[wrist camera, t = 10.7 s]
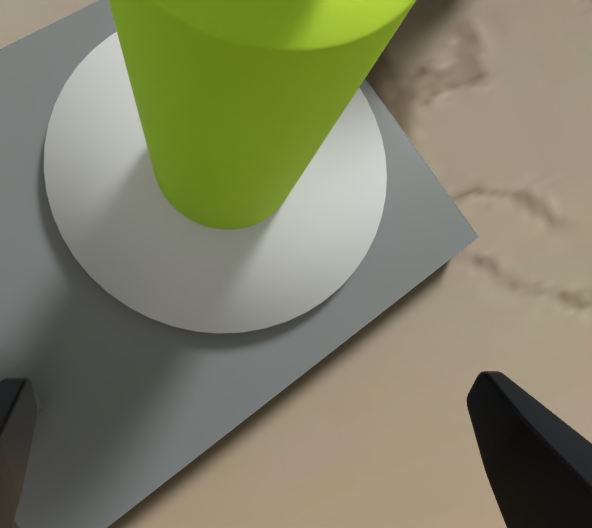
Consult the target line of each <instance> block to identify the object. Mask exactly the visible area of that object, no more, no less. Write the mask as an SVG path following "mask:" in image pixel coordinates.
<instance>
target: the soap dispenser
mask: <svg viewBox="0 0 592 528" xmlns="http://www.w3.org/2000/svg"><path fill="white" fill-rule="evenodd" d="M415 2H416V0H109V4H110V8H111V12H112V15H113V19H114V23H115V27H116V31H117V34H118V38H119V42H120V46H121V50H122V53H123V57H124V61H125V65H126V68H127V72H128V76H129V80H130V84H131V87H132V91H133V95H134V99H135V103H136V106H137V110H138V114H139V118H140V122H141V125H142V129H143V133H144V137H145V140H146V144H147V148H148V152H149V156H150V159H151V163H152V167H153V171H154V175H155V178H156V181H157V183H158V186H159V188H160V190H161V191H162V193H163V195H164V196H165V198H166V199H167V200H168V202H169V203H170V204H171V205H172V206H173V207H174V208H175V209H176V210H177V211H178V212H179V213H181V214H182V215H183V216H185V217H186V218H188V219H190V220H192V221H193V222H196V223H198V224H200V225H203V226H206V227H210V228H215V229H223V230H233V229H241V228H246V227H249V226H252V225H255V224H257V223H259V222H261V221H263V220H265V219H266V218H268V217H269V216H271V215H272V214H273V213H274V212H275V211H277V210H278V209H279V207H280V206H281V205H282V204H283V203H284V201H285V200H286V198H287V197H288V195H289V194H290V192H291V191H292V189H293V188H294V186H295V185H296V183H297V182H298V180H299V179H300V177H301V175H302V174H303V172H304V171H305V169H306V168H307V166H308V165H309V163H310V162H311V160H312V159H313V157H314V156H315V154H316V153H317V151H318V150H319V148H320V146H321V145H322V143H323V142H324V140H325V139H326V137H327V136H328V134H329V133H330V131H331V130H332V128H333V127H334V125H335V124H336V122H337V121H338V119H339V118H340V116H341V114H342V113H343V111H344V110H345V108H346V107H347V105H348V104H349V102H350V101H351V99H352V98H353V96H354V95H355V93H356V92H357V90H358V89H359V87H360V85H361V84H362V82H363V81H364V79H365V78H366V76H367V75H368V73H369V72H370V70H371V69H372V67H373V66H374V64H375V63H376V61H377V60H378V58H379V57H380V55H381V53H382V52H383V50H384V49H385V47H386V46H387V44H388V43H389V41H390V40H391V38H392V37H393V35H394V34H395V32H396V31H397V29H398V28H399V26H400V24H401V23H402V21H403V20H404V18H405V17H406V15H407V14H408V12H409V11H410V9H411V8H412V6H413V5H414V3H415Z"/></svg>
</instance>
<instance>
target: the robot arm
mask: <svg viewBox="0 0 592 528" xmlns="http://www.w3.org/2000/svg"><path fill="white" fill-rule="evenodd" d="M467 407H468V411H469V414H470V418H471V422H472V425H473V429H474V432H475V436H476V440H477V443H478V447H479V451H480V454H481V458H482V461H483V465H484V468H485V471H486V474H487V477H488V480H489V482H490V485H491V488H492V490H493V493H494V495H495V498H496V500H497V503H498V506H499V508H500V511H501V513H502V516H503V518H504V521H505V524H506V526H507V528H592V444H591V443H590V442H589V441H588V440H586V439H585V438H584V437H583V436H581V435H580V434H579V433H578V432H576V431H575V430H574V429H572V428H571V427H570V426H569V425H567V424H566V423H565V422H564V421H562V420H561V419H560V418H559V417H557V416H556V415H555V414H553V413H552V412H551V411H550V410H548V409H547V408H546V407H545V406H543V405H542V404H541V403H540V402H538V401H537V400H536V399H534V398H533V397H532V396H531V395H529V394H528V393H527V392H526V391H524V390H523V389H522V388H521V387H519V386H518V385H517V384H515V383H514V382H513V381H512V380H510V379H509V378H508V377H507V376H505V375H504V374H503V373H501V372H498V371H483V372H481V373H480V374H479V375H478V376H477V378H476V380H475V382H474V384H473V386H472V388H471V390H470V392H469V393H468V396H467ZM36 419H37V403H36V399H35V395H34V391H33V387H32V383H31V381H30V379H29V378H26V377H8V378H4V379H3V380H1V381H0V528H11V527H12V524H13V521H14V518H15V515H16V512H17V508H18V505H19V501H20V497H21V493H22V488H23V484H24V479H25V474H26V469H27V464H28V459H29V454H30V449H31V444H32V439H33V434H34V429H35V424H36Z"/></svg>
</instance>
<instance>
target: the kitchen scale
mask: <svg viewBox="0 0 592 528" xmlns="http://www.w3.org/2000/svg"><path fill="white" fill-rule="evenodd" d="M477 238H478V235H477V234H476V232H475V231H474V230H473V228H472V227H471V225H470V224H469V223H468V221H467V220H466V218H465V217H464V216H463V214H462V213H461V211H460V210H459V209H458V207H457V206H456V204H455V203H454V202H453V200H452V199H451V197H450V196H449V195H448V193H447V192H446V190H445V189H444V188H443V186H442V185H441V183H440V182H439V181H438V179H437V178H436V176H435V175H434V174H433V172H432V171H431V169H430V168H429V167H428V165H427V164H426V162H425V161H424V160H423V158H422V157H421V155H420V154H419V153H418V151H417V150H416V148H415V147H414V146H413V144H412V143H411V141H410V140H409V139H408V137H407V136H406V134H405V133H404V132H403V130H402V129H401V127H400V126H399V125H398V123H397V122H396V120H395V119H394V118H393V116H392V115H391V113H390V112H389V111H388V109H387V108H386V106H385V105H384V104H383V102H382V101H381V99H380V98H379V97H378V95H377V94H376V92H375V91H374V90H373V88H372V87H371V85H370V84H369V83H368V81H367V80H366V78H365V79H364V81H363V82H362V84H361V85H360V87H359V89H358V90H357V92H356V93H355V95H354V96H353V98H352V99H351V101H350V102H349V104H348V105H347V107H346V108H345V110H344V111H343V113H342V114H341V116H340V118H339V119H338V121H337V122H336V124H335V125H334V127H333V128H332V130H331V131H330V133H329V134H328V136H327V137H326V139H325V140H324V142H323V143H322V145H321V146H320V148H319V150H318V151H317V153H316V154H315V156H314V157H313V159H312V160H311V162H310V163H309V165H308V166H307V168H306V169H305V171H304V172H303V174H302V175H301V177H300V179H299V180H298V182H297V183H296V185H295V186H294V188H293V189H292V191H291V192H290V194H289V195H288V197H287V198H286V200H285V201H284V203H283V204H282V205H281V206H280V207H279V209H278V210H277V211H275V212H274V213H273V214H272V215H271V216H269V217H268V218H266V219H265V220H263V221H261V222H259V223H257V224H255V225H252V226H249V227H246V228H241V229H233V230H223V229H215V228H210V227H206V226H203V225H200V224H198V223H196V222H193V221H192V220H190V219H188V218H186V217H185V216H183V215H182V214H181V213H179V212H178V211H177V210H176V209H175V208H174V207H173V206H172V205H171V204H170V203H169V202H168V200H167V199H166V198H165V196H164V195H163V193H162V191H161V190H160V188H159V186H158V183H157V181H156V178H155V175H154V171H153V167H152V163H151V159H150V156H149V152H148V148H147V144H146V140H145V137H144V133H143V129H142V125H141V122H140V118H139V114H138V110H137V106H136V103H135V99H134V95H133V91H132V87H131V84H130V80H129V76H128V72H127V68H126V65H125V61H124V57H123V53H122V50H121V46H120V42H119V38H118V34H117V31H116V27H115V23H114V19H113V15H112V12H111V8H110V4H109V0H99V1H97V2H95V3H93V4H91V5H89V6H87V7H85V8H83V9H81V10H79V11H77V12H75V13H73V14H71V15H69V16H67V17H65V18H63V19H61V20H59V21H57V22H55V23H53V24H51V25H49V26H47V27H45V28H42V29H40V30H38V31H36V32H34V33H32V34H30V35H28V36H26V37H24V38H22V39H20V40H18V41H16V42H14V43H12V44H10V45H8V46H6V47H4V48H2V49H0V381H1V380H3V379H4V378H8V377H26V378H29V379H30V381H31V383H32V387H33V391H34V395H35V399H36V403H37V419H36V424H35V429H34V434H33V439H32V444H31V449H30V454H29V459H28V464H27V469H26V474H25V479H24V484H23V488H22V493H21V497H20V501H19V505H18V508H17V512H16V515H15V518H14V522H15V523H16V524H17V526H18V527H19V528H107V527H109V526H110V525H111V524H112V523H114V522H115V521H116V520H118V519H119V518H120V517H121V516H123V515H124V514H125V513H127V512H128V511H129V510H130V509H132V508H133V507H134V506H135V505H137V504H138V503H139V502H141V501H142V500H143V499H144V498H146V497H147V496H148V495H150V494H151V493H152V492H153V491H155V490H156V489H157V488H158V487H160V486H161V485H162V484H164V483H165V482H166V481H167V480H169V479H170V478H171V477H173V476H174V475H175V474H176V473H178V472H179V471H180V470H181V469H183V468H184V467H185V466H187V465H188V464H189V463H190V462H192V461H193V460H194V459H196V458H197V457H198V456H199V455H201V454H202V453H203V452H204V451H206V450H207V449H208V448H210V447H211V446H212V445H213V444H215V443H216V442H217V441H219V440H220V439H221V438H222V437H224V436H225V435H226V434H227V433H229V432H230V431H231V430H233V429H234V428H235V427H236V426H238V425H239V424H240V423H242V422H243V421H244V420H245V419H247V418H248V417H249V416H251V415H252V414H253V413H254V412H256V411H257V410H258V409H259V408H261V407H262V406H263V405H265V404H266V403H267V402H268V401H270V400H271V399H272V398H274V397H275V396H276V395H277V394H279V393H280V392H281V391H282V390H284V389H285V388H286V387H288V386H289V385H290V384H291V383H293V382H294V381H295V380H297V379H298V378H299V377H300V376H302V375H303V374H304V373H305V372H307V371H308V370H309V369H311V368H312V367H313V366H314V365H316V364H317V363H318V362H320V361H321V360H322V359H323V358H325V357H326V356H327V355H328V354H330V353H331V352H332V351H334V350H335V349H336V348H337V347H339V346H340V345H341V344H343V343H344V342H345V341H346V340H348V339H349V338H350V337H351V336H353V335H354V334H355V333H357V332H358V331H359V330H360V329H362V328H363V327H364V326H366V325H367V324H368V323H369V322H371V321H372V320H373V319H374V318H376V317H377V316H378V315H380V314H381V313H382V312H383V311H385V310H386V309H387V308H389V307H390V306H391V305H392V304H394V303H395V302H396V301H398V300H399V299H400V298H401V297H403V296H404V295H405V294H406V293H408V292H409V291H410V290H412V289H413V288H414V287H415V286H417V285H418V284H419V283H421V282H422V281H423V280H424V279H426V278H427V277H428V276H429V275H431V274H432V273H433V272H435V271H436V270H437V269H438V268H440V267H441V266H442V265H444V264H445V263H446V262H447V261H449V260H450V259H451V258H452V257H454V256H455V255H456V254H458V253H459V252H460V251H461V250H463V249H464V248H465V247H467V246H468V245H469V244H470V243H472V242H473V241H474V240H475V239H477Z"/></svg>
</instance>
